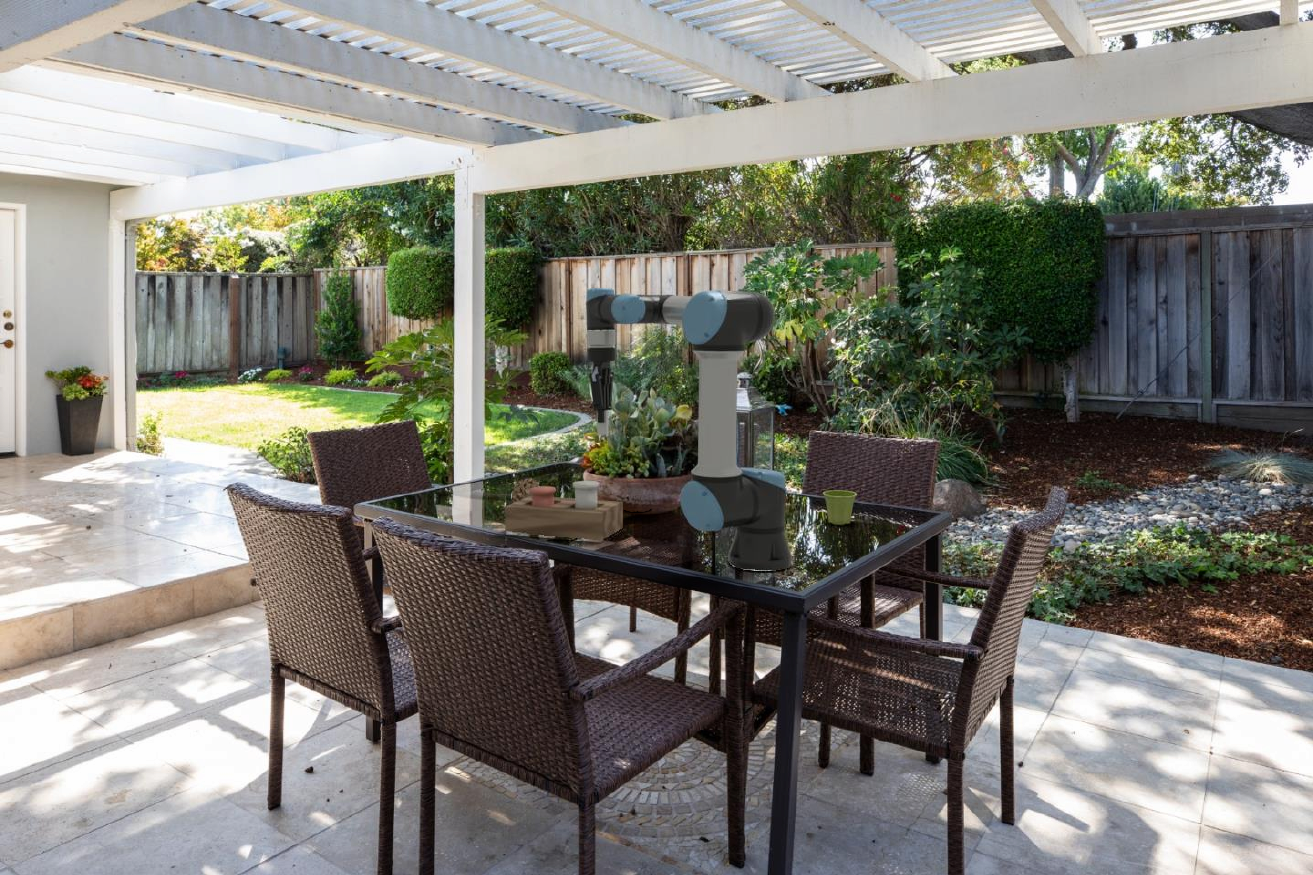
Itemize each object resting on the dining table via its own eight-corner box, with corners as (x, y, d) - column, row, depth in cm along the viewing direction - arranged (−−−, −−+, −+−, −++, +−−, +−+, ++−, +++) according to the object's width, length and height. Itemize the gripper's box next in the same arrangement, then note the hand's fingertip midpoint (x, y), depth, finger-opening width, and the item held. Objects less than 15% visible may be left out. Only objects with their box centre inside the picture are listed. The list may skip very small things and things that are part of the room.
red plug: (549, 531, 251) (548, 491, 250) (525, 529, 254) (525, 490, 252) (560, 525, 258) (560, 487, 257) (537, 524, 261) (536, 485, 259)
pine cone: (512, 506, 289) (511, 475, 287) (543, 505, 290) (542, 474, 289) (510, 522, 267) (509, 488, 266) (543, 521, 268) (543, 487, 267)
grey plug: (593, 526, 247) (593, 486, 246) (569, 524, 249) (568, 484, 248) (603, 521, 254) (603, 481, 252) (579, 519, 256) (579, 480, 255)
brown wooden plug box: (601, 543, 242) (600, 513, 241) (505, 535, 251) (504, 506, 250) (622, 529, 257) (622, 501, 256) (532, 522, 266) (531, 495, 265)
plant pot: (856, 527, 260) (856, 496, 259) (822, 525, 262) (822, 495, 261) (855, 520, 269) (856, 490, 268) (822, 518, 271) (823, 489, 270)
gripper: (597, 346, 253) (598, 431, 256) (579, 347, 241) (581, 437, 243) (622, 346, 251) (624, 432, 253) (606, 347, 238) (607, 437, 241)
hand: (603, 434), depth 248 cm, fingers closed
